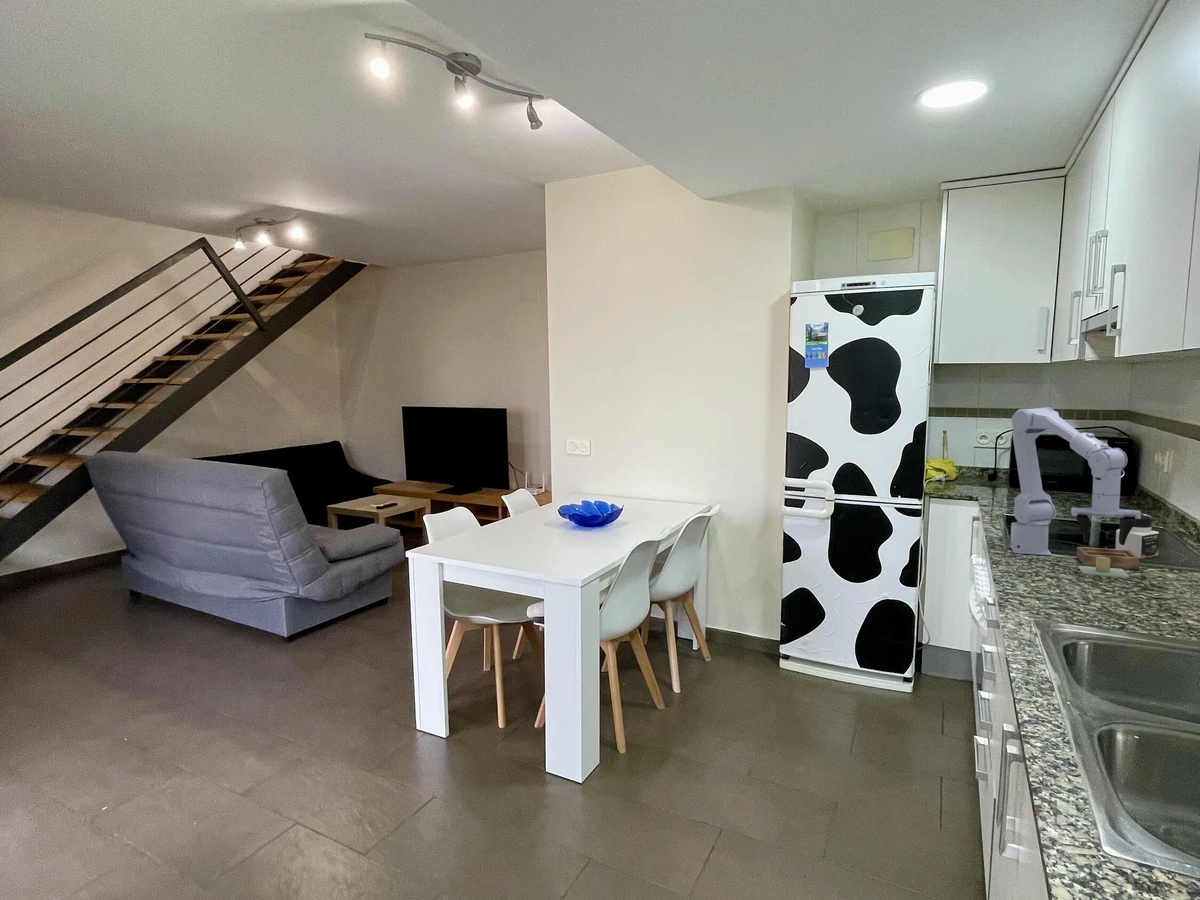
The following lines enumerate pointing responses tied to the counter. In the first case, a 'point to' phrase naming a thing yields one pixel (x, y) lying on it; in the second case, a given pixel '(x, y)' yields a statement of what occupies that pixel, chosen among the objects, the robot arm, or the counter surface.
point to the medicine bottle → (1141, 538)
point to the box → (1117, 557)
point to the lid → (1103, 569)
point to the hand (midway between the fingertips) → (1103, 543)
